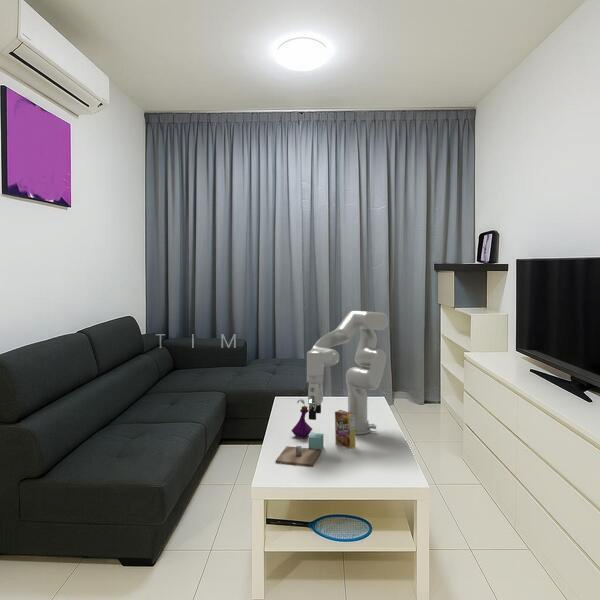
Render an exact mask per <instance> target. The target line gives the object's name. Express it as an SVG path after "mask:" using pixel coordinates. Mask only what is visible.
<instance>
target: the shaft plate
mask: <svg viewBox="0 0 600 600" xmlns="http://www.w3.org/2000/svg"><path fill="white" fill-rule="evenodd" d="M321 453H322V450H321V449H311V448H309V447H302V446H301V445H296V446H290V445H289V446H288V445H287V446H285V447H284V449H283V450H282V452H281V453H280V454H279V456H278V457H277V458H276V459H275V460H274V462H275V464H280V463H281V464H282V465H291V466H300V467H301V466H302V467H311V468H312V467H314V466H315V464H316V463H317V460H318V458H319V457H320V455H321Z"/></svg>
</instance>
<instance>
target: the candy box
mask: <svg viewBox="0 0 600 600" xmlns="http://www.w3.org/2000/svg"><path fill="white" fill-rule="evenodd" d="M334 428H335V430H334V433H335V435H334V437H335V438H334V439H335V444H336V445H338V446H339V445H340V446H343V447H345V448H348V449H352V448H355V447H356V434H355V414H353V413H350V412H348V411H345V410H342V409H339V410H335V411H334Z"/></svg>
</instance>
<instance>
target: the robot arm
mask: <svg viewBox="0 0 600 600" xmlns="http://www.w3.org/2000/svg"><path fill="white" fill-rule="evenodd" d="M388 326H389V317H388V315H387V313H384V312H377V311H376V312H375V311H365V310H350V311H349V312H348V313H347V314H346V315H345V317H344V318H343V319H342V321H341V322H339V324H338V326H337V327H336V328H335V329H334V330H333V331H330V332H328V333H326V334H325V335H323V336H322V337H320V338H319V339H318V340H317V341H316V342H315V343H314V345H313V346H312V347H311V349H310V350H308V351H307V353H306V383H308V387H307V388H308V390H307V392H308V394H307V404H308V420H311V421H316V420H317V414H321V413H322V402H323V401H324V386H323V383H324V377H325V376H324V372H325V371H324V369H325V368H324V367H326V366H327V367H331V366H335V365H336V364H338V363H339V361H340V354H339V352H338V351H337V350H335V349H332V348H333V347H335V346H338V345H343V344H346V343H349V342H350V341H351V340H352V338H353V337H354V335H355V334H356V332H357V331H358V330H359V333H360V338H359V342H358V345H357V348H356V352H355V355H354V362H355V363H356V364H357V365H359V366H361V367H355V366H353V367H349V369H347V371H346V373H345V382H346V388H347V412H350V413H353V414H355V435H366V434H368V433H370V432H371V429H372V430H377V424H375V423H370V422H369V419H368V393H367V390H369V391H375V390H377V389H378V388H379V386H380V384H381V381H382V378H383V374H384V371H385V366H386V363H387V355H386V352H385V351H384V350H382V349H381V348H380V349H379V348H376V347H377V344H378V338H377V334H376V330H377V331H383V330H385V329H386V328H387V327H388ZM374 330H375V331H374ZM363 367H366V368H363ZM368 368H369V369H368Z"/></svg>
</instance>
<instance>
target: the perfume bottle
mask: <svg viewBox="0 0 600 600" xmlns="http://www.w3.org/2000/svg"><path fill="white" fill-rule="evenodd" d="M299 402H301V403H302V404H303V406H301V409H300V410H299V412H300V413H301V414H300V418H299V420H298V422H297V423H296V424H295V425H294V427H293V428H292V429H291V432H292V433H293V435H294V436H295V437H297V438H299V439H305V438H306V437H309V436H310V434H311V433H312V431H313V428H312V427H311V426H310V425H309V424H308V423H307V421H306V414H307V413H309V406H307V405H305V402H306V401H305V400H304V399H302V398H301V399H299V400H297V403H296V404H299Z"/></svg>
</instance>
